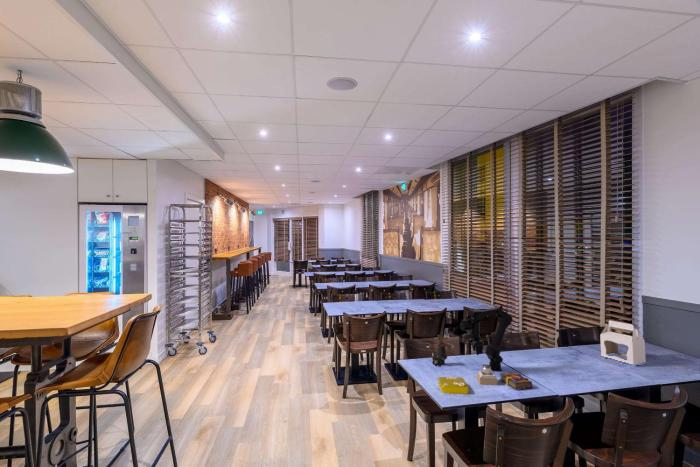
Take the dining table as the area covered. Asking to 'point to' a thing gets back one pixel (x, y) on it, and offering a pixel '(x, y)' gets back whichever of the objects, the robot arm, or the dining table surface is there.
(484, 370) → the lens
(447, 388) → the element tile
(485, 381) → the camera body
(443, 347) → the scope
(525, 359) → the dining table surface
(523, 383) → the decorative book
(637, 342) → the gable box
